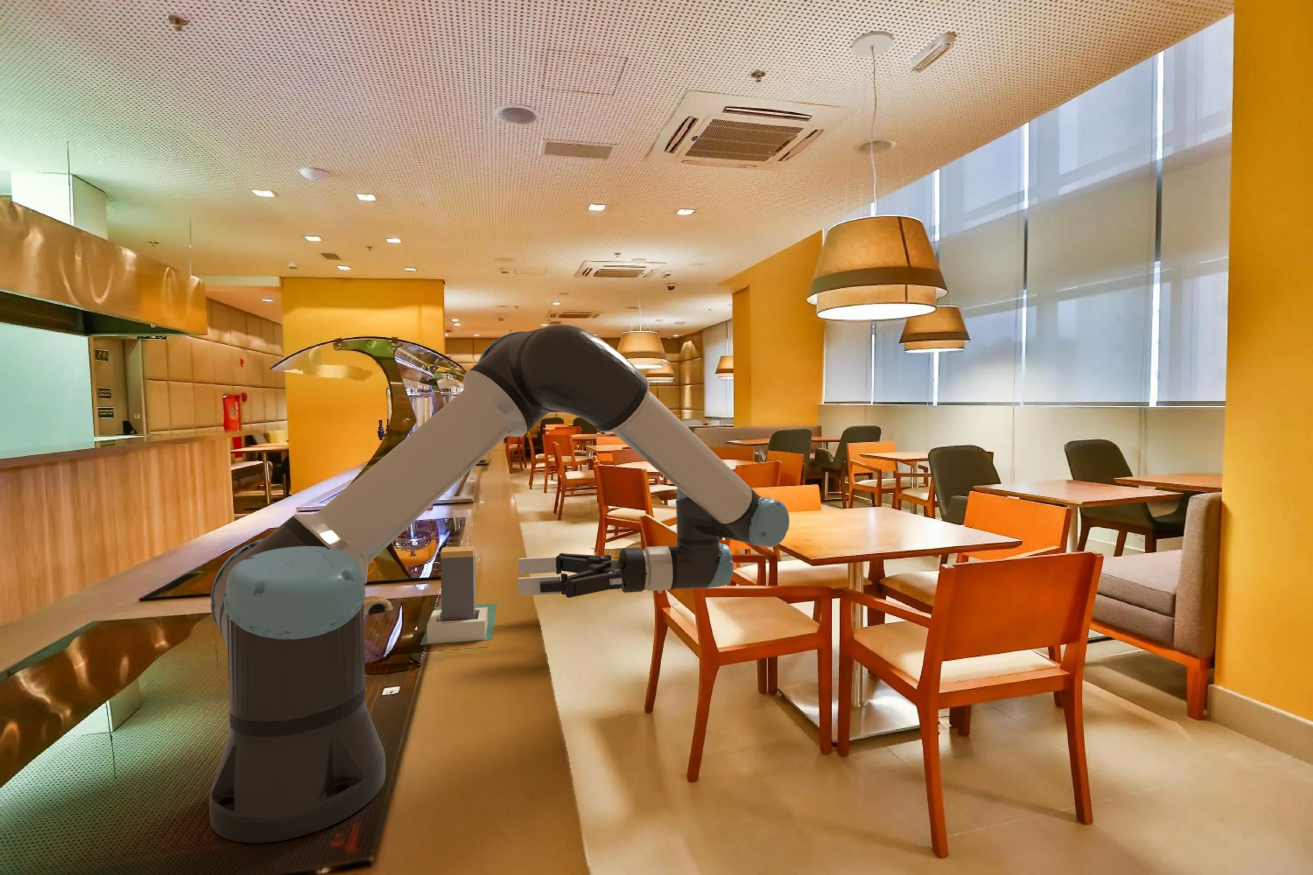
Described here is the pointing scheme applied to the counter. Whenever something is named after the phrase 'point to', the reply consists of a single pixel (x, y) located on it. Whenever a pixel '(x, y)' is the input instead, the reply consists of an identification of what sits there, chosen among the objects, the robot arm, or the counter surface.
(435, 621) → the header
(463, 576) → the plug
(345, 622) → the robot arm
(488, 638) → the board
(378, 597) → the pastry
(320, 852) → the counter surface
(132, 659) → the counter surface
